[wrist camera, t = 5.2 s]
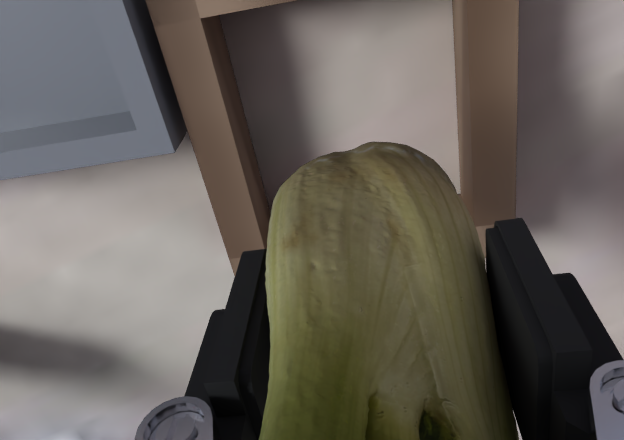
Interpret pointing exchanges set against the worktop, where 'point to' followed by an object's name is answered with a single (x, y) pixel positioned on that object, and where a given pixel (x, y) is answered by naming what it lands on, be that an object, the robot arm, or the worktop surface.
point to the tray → (82, 86)
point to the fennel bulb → (380, 306)
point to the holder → (236, 138)
